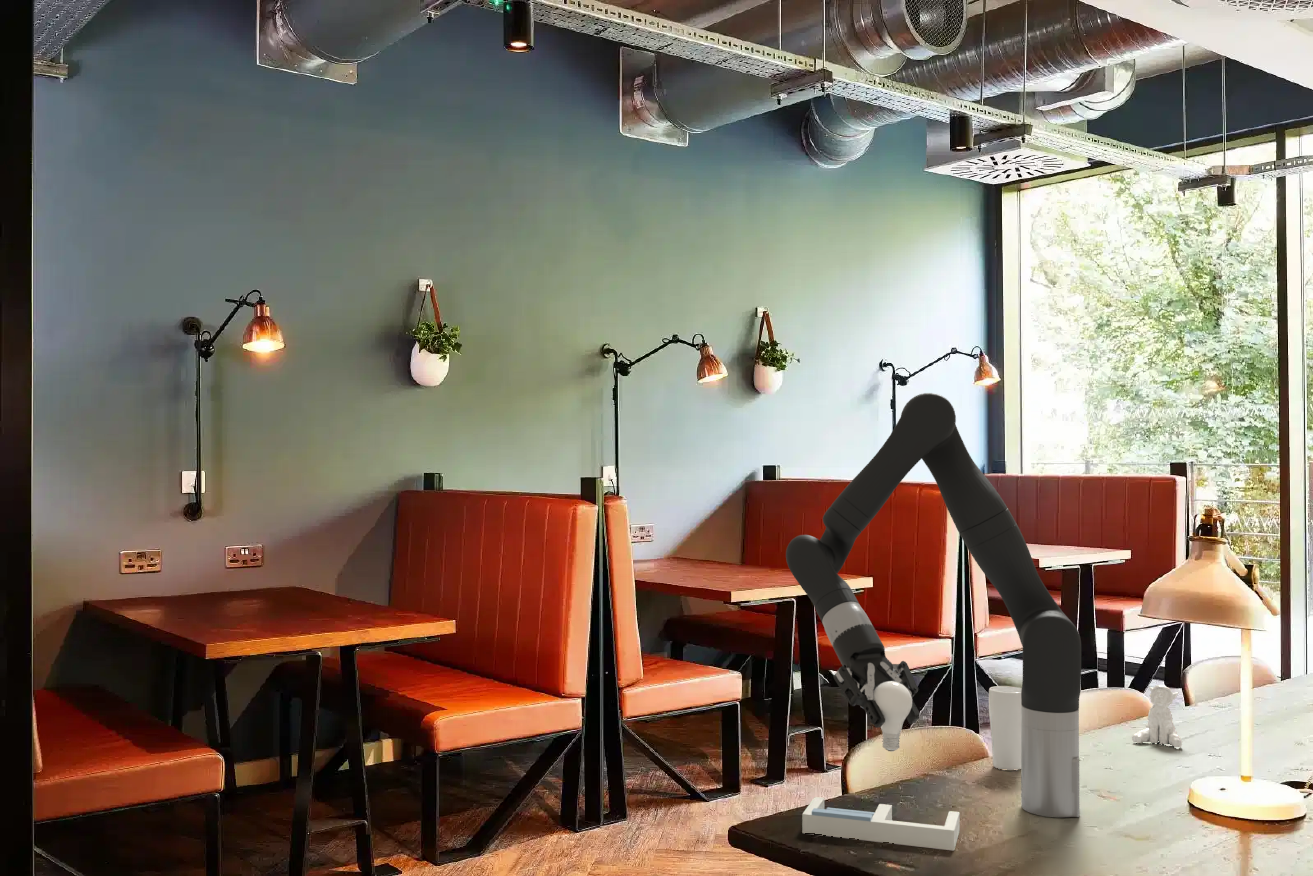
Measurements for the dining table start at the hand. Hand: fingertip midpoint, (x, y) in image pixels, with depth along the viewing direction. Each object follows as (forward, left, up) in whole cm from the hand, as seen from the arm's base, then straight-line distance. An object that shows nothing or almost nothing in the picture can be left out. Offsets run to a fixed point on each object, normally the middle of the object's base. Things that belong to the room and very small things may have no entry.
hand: (898, 722), depth 180 cm
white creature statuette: (-43, -79, -18) cm, 91 cm away
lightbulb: (+1, -1, -5) cm, 5 cm away
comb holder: (+3, -2, -18) cm, 18 cm away
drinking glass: (-14, -47, -18) cm, 52 cm away
